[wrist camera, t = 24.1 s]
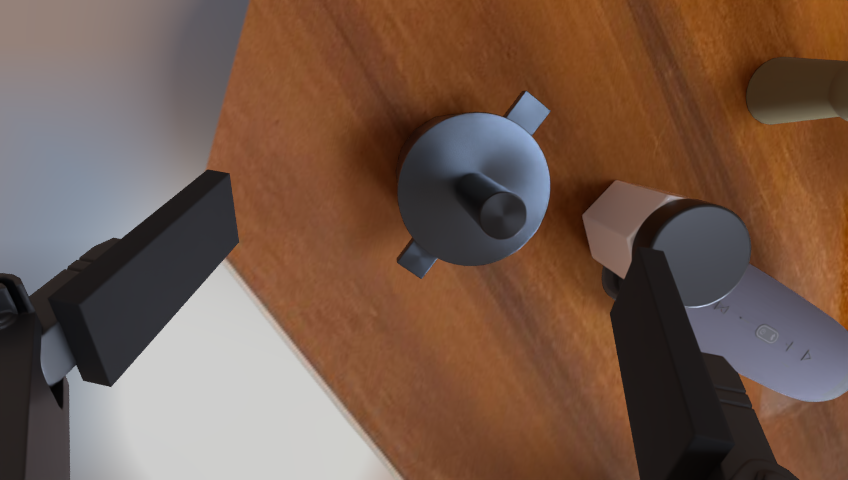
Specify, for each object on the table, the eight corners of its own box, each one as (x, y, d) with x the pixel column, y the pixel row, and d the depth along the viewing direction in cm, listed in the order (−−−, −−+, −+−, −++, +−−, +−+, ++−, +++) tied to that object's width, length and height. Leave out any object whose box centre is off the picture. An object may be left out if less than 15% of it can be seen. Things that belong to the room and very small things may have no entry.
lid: (366, 206, 37) (365, 239, 28) (458, 78, 35) (488, 70, 26) (483, 288, 40) (516, 341, 31) (575, 172, 38) (637, 194, 29)
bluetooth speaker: (580, 281, 50) (630, 323, 40) (633, 200, 48) (699, 224, 39) (746, 372, 55) (825, 429, 45) (799, 301, 53) (894, 345, 44)
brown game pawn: (819, 84, 47) (949, 79, 37) (774, 137, 48) (888, 147, 38) (778, 42, 46) (901, 24, 35) (733, 98, 47) (839, 96, 36)
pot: (356, 209, 46) (352, 235, 37) (461, 63, 43) (485, 53, 34) (446, 271, 48) (463, 310, 39) (550, 136, 46) (594, 144, 37)
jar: (619, 283, 50) (690, 334, 39) (563, 231, 48) (621, 268, 37) (684, 216, 49) (778, 248, 37) (630, 160, 47) (711, 176, 36)
